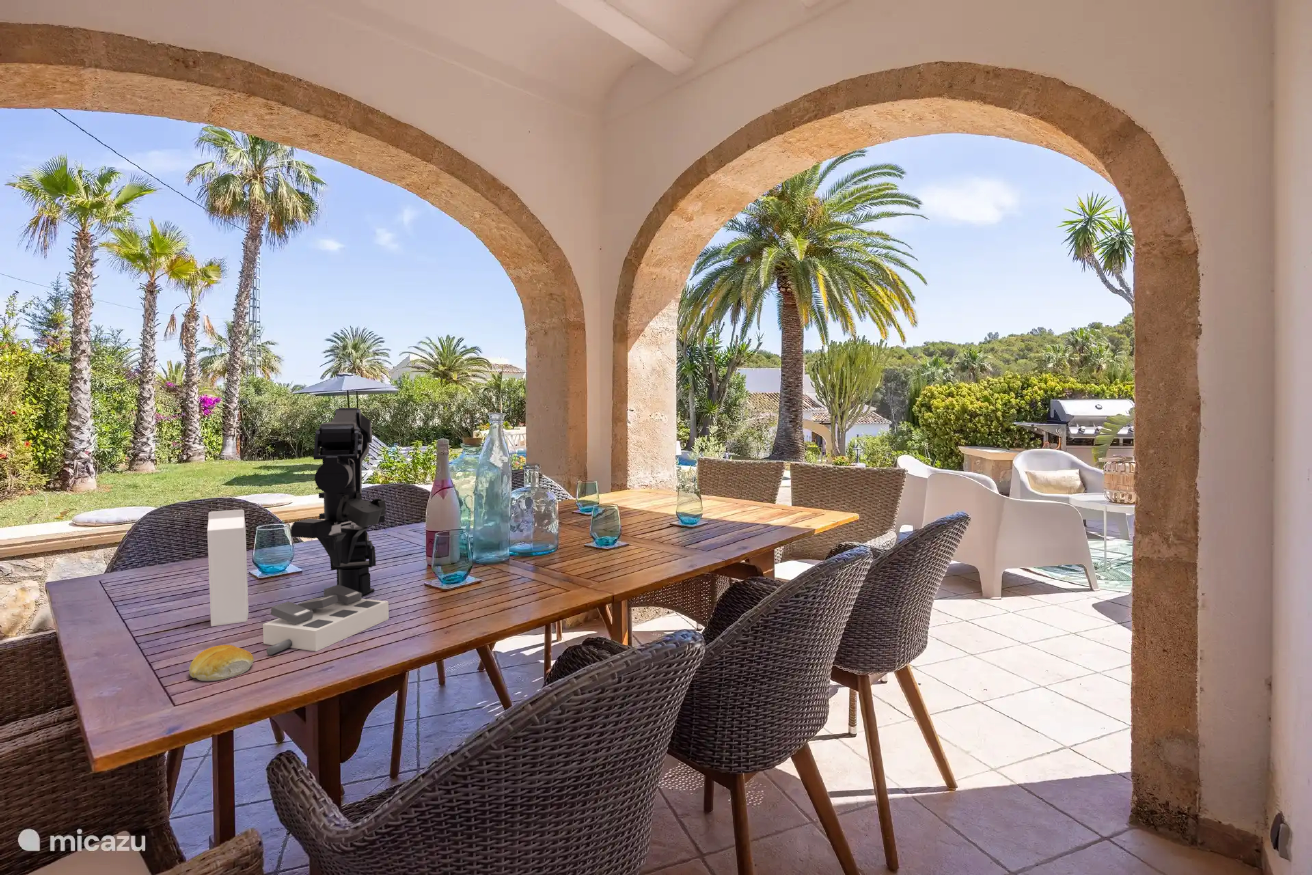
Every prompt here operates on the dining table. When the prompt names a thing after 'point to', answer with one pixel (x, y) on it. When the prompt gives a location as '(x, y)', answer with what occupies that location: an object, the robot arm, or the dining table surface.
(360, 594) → the rocker
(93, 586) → the dining table surface
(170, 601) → the dining table surface
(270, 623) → the power strip
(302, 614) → the rocker
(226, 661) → the bread roll
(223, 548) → the milk
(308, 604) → the rocker middle
